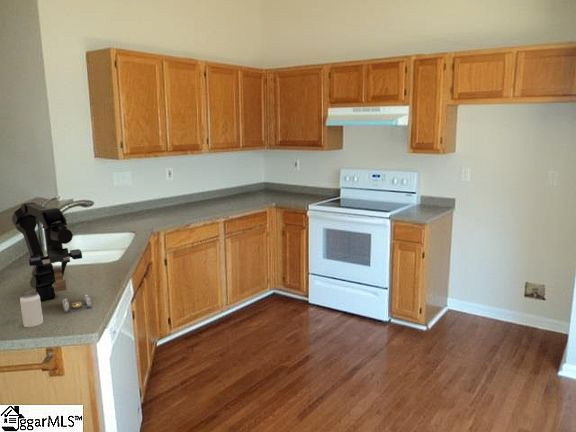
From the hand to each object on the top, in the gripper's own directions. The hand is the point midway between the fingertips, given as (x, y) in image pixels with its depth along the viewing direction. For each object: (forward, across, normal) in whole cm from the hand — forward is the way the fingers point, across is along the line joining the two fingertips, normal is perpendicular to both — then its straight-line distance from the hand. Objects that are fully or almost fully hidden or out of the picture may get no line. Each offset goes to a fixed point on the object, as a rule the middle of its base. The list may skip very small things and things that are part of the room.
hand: (58, 277), depth 185 cm
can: (+13, -10, -12) cm, 21 cm away
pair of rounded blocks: (+12, +5, -6) cm, 14 cm away
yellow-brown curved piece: (+12, +5, -5) cm, 14 cm away
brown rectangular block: (+3, 0, -3) cm, 4 cm away
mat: (+13, +5, -3) cm, 14 cm away
